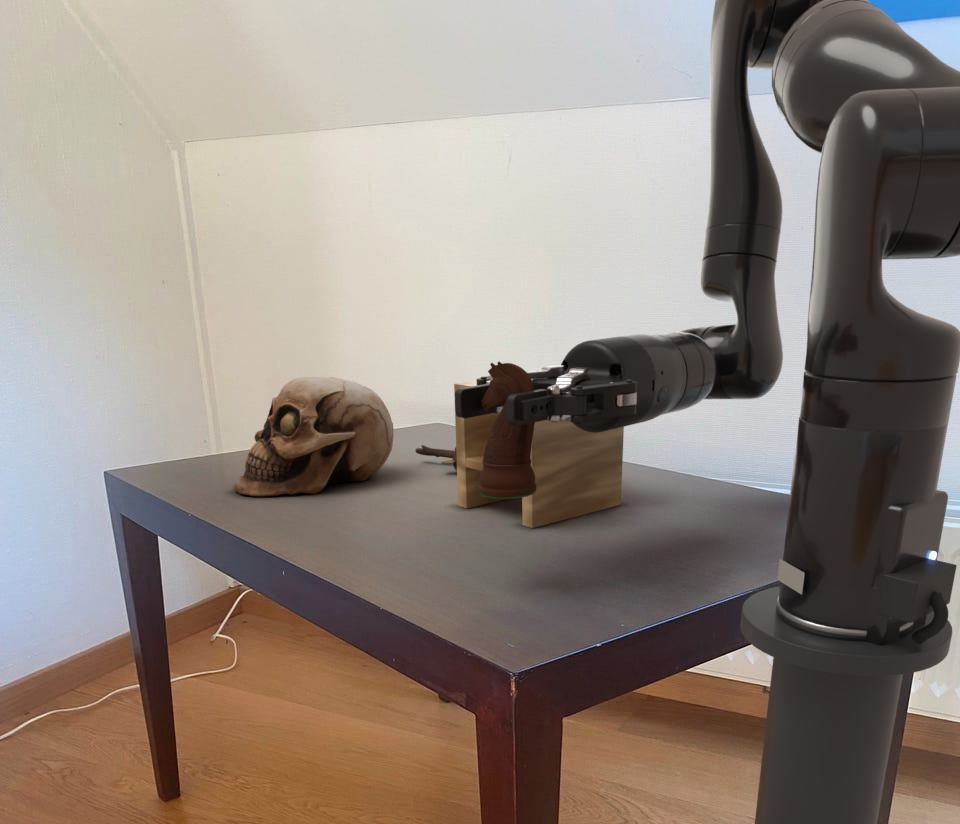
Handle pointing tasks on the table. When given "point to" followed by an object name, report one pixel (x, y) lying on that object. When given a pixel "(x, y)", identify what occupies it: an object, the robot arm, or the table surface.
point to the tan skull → (318, 438)
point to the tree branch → (439, 454)
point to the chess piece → (507, 439)
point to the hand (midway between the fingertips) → (484, 407)
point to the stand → (547, 468)
